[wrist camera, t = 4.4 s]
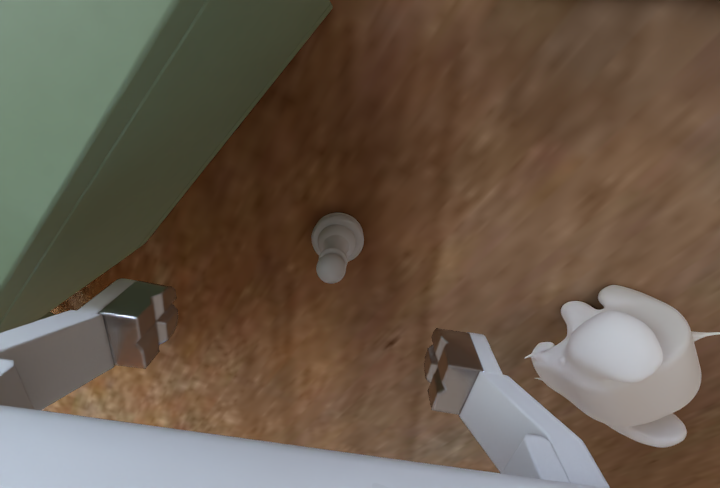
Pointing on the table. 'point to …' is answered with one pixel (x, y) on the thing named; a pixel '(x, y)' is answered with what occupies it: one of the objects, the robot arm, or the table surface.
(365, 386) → the table surface
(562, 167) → the table surface
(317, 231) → the pawn
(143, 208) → the cabinet
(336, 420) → the table surface
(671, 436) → the elephant figurine
